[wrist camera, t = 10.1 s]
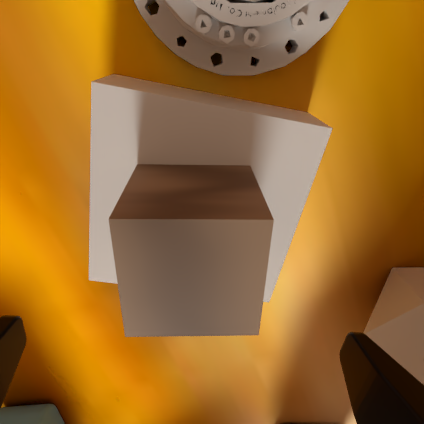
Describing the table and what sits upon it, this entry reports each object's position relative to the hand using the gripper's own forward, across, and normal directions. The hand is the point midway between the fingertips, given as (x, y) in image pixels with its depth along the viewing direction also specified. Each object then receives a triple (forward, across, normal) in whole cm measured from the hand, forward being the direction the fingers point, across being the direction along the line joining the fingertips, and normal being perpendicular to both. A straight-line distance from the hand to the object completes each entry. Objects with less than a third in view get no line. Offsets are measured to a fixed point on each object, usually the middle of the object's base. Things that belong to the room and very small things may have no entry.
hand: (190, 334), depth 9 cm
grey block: (+11, 0, 0) cm, 11 cm away
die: (+11, -16, +7) cm, 21 cm away
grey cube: (+7, 0, 0) cm, 7 cm away
